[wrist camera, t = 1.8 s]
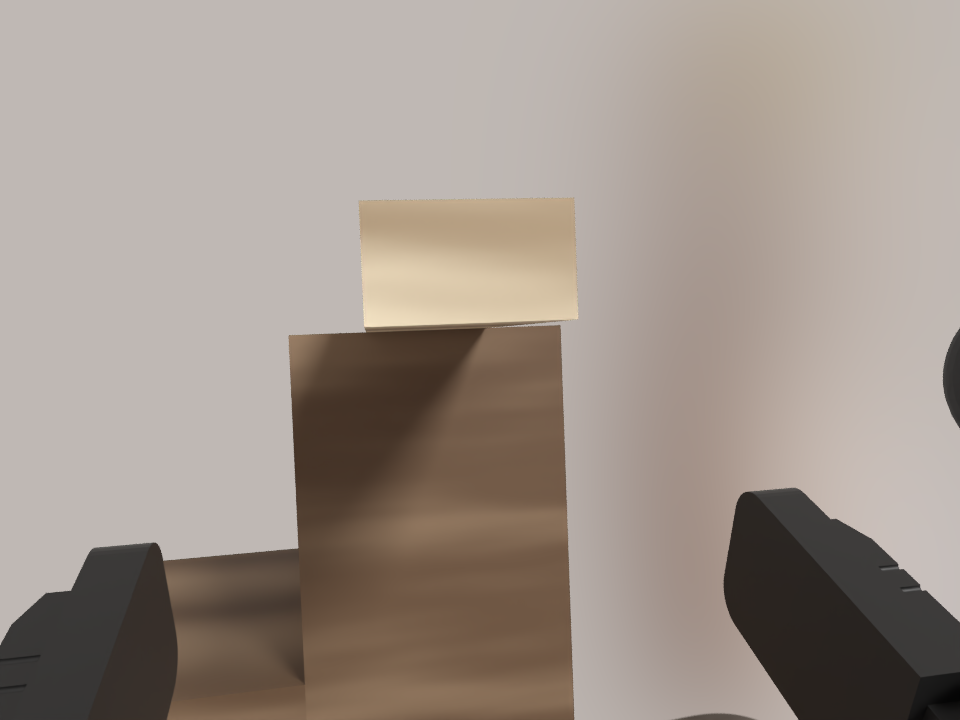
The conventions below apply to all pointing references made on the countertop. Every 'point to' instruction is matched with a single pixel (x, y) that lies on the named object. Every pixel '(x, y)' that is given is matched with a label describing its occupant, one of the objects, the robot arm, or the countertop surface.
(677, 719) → the countertop surface
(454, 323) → the maple slat
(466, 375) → the walnut step stand
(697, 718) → the countertop surface
